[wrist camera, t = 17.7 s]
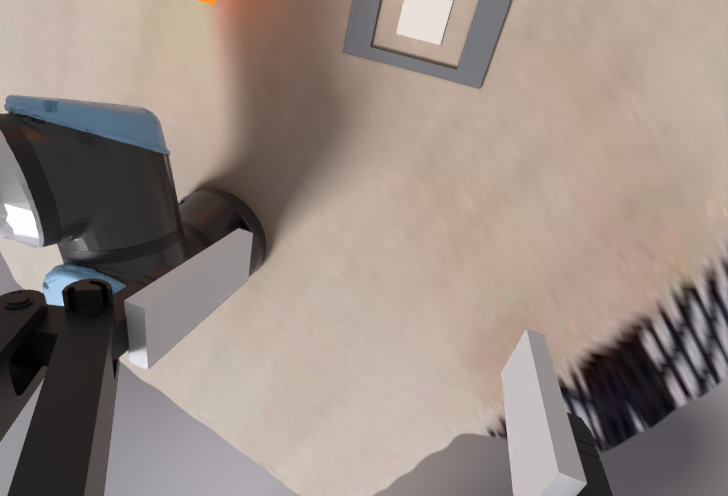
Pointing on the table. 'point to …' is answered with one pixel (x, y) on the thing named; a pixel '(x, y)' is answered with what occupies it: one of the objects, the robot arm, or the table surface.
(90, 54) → the table surface
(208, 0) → the orange juice
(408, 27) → the tile
